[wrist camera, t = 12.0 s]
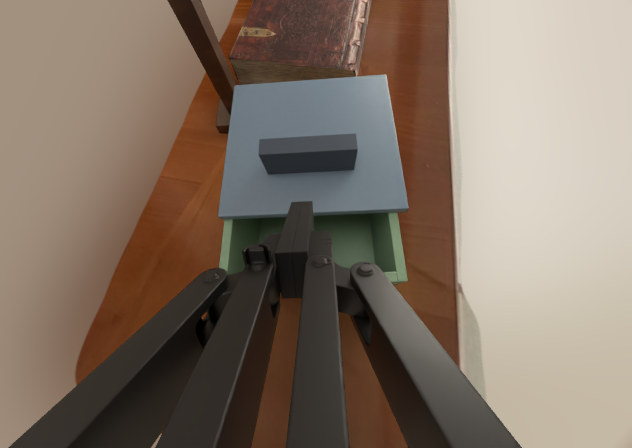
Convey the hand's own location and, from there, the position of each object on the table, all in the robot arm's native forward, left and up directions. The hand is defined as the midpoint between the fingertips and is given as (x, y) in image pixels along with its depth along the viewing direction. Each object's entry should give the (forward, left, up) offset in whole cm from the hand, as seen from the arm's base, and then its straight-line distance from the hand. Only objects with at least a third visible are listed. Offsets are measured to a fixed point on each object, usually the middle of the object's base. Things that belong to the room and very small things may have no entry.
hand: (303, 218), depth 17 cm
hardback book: (+14, +38, -12) cm, 42 cm away
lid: (+4, +9, -3) cm, 10 cm away
